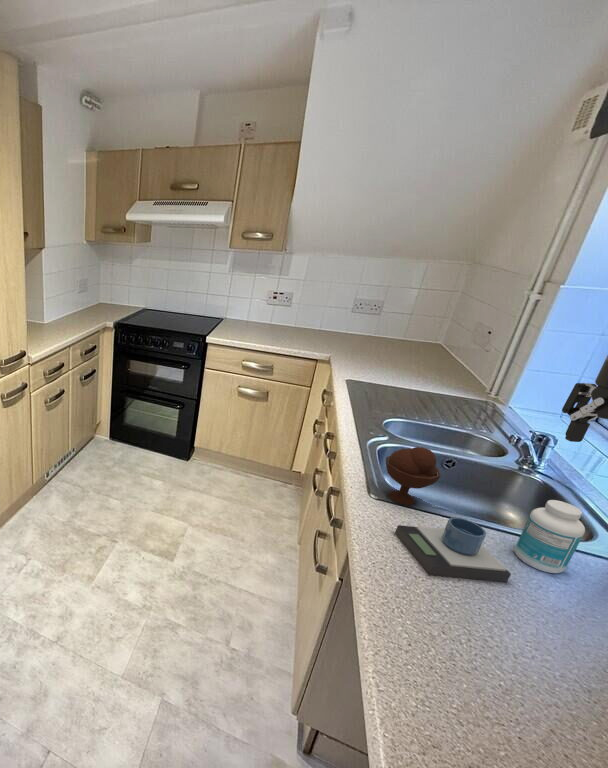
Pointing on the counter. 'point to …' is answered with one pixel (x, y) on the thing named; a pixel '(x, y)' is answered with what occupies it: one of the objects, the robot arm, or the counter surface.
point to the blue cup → (463, 536)
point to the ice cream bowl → (411, 471)
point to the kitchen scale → (449, 556)
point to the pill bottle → (550, 536)
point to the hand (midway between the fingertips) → (596, 452)
